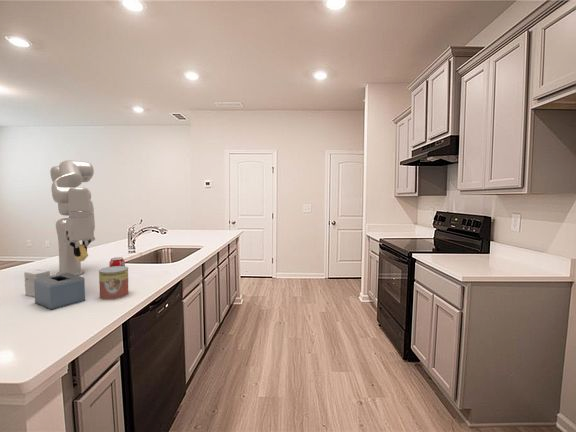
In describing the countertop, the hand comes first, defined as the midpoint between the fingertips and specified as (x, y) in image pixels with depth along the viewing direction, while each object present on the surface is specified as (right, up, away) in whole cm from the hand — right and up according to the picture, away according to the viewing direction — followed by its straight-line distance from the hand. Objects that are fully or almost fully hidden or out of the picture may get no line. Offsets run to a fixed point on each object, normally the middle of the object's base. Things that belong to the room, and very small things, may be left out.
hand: (80, 255), depth 129 cm
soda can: (+5, -16, +20) cm, 27 cm away
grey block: (-2, -18, -9) cm, 21 cm away
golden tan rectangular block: (+2, -1, -1) cm, 2 cm away
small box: (-18, -18, -1) cm, 25 cm away
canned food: (+15, -18, 0) cm, 24 cm away
